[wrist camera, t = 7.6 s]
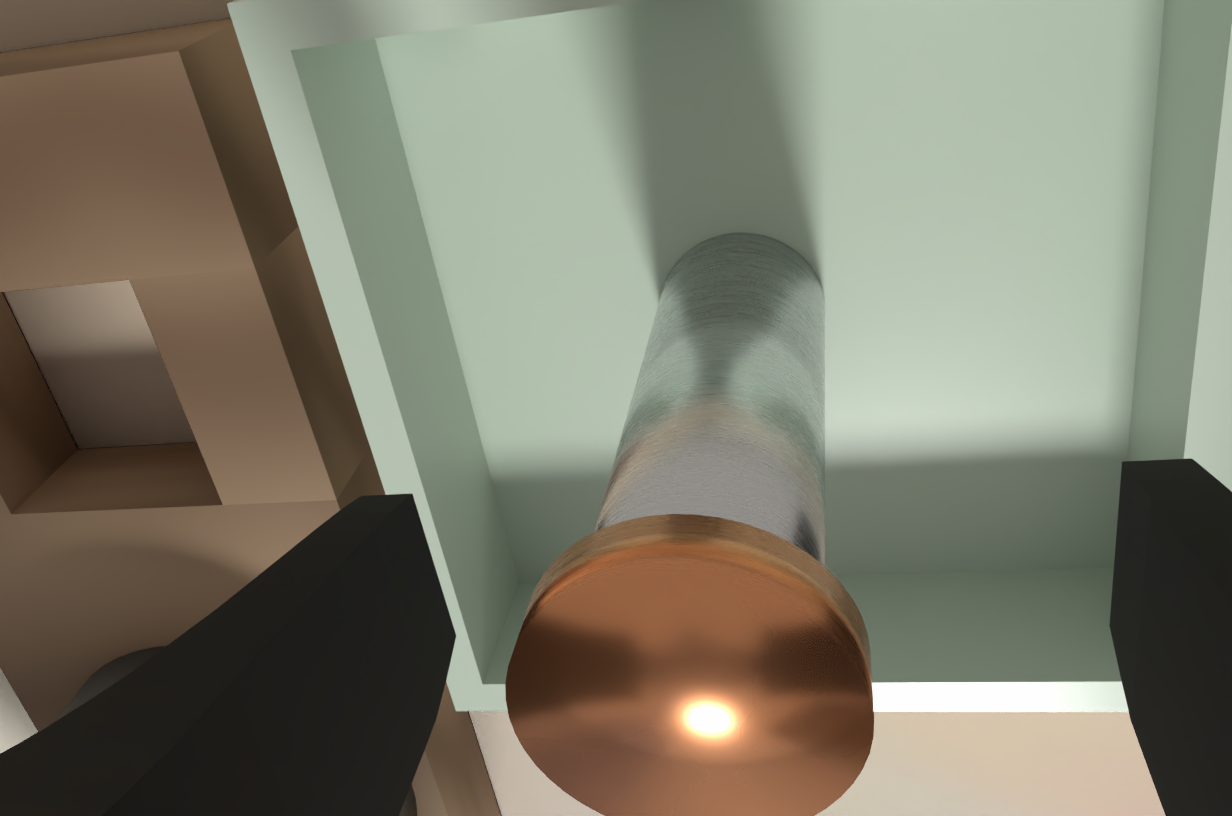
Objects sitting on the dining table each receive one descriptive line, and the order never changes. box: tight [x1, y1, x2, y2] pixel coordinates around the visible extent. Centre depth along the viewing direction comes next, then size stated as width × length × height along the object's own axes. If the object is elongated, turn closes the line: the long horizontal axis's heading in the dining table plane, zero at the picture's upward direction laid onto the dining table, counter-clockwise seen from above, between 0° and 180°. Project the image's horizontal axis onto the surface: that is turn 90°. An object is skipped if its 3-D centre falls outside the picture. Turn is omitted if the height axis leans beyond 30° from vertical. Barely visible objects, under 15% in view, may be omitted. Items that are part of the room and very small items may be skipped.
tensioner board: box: [0, 18, 501, 816], centre depth 19 cm, size 18×8×6 cm, turn 9°
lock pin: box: [505, 232, 874, 816], centre depth 13 cm, size 3×3×8 cm
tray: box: [227, 0, 1232, 712], centre depth 15 cm, size 11×11×3 cm
